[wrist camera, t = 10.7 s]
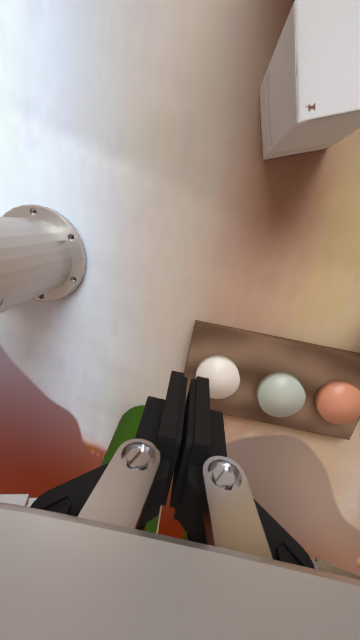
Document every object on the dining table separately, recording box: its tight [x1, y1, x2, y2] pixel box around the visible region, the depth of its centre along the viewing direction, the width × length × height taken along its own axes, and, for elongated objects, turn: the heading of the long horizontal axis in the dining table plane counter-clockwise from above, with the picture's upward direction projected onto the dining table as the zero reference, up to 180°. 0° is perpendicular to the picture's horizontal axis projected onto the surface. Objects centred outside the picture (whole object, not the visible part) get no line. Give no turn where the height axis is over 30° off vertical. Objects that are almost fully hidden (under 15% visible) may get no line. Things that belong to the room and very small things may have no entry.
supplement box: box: [259, 0, 360, 160], centre depth 25 cm, size 7×7×13 cm
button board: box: [184, 320, 360, 440], centre depth 41 cm, size 13×26×2 cm, turn 80°
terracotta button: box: [314, 380, 360, 424], centre depth 38 cm, size 6×6×2 cm
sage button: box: [256, 372, 306, 417], centre depth 37 cm, size 6×6×2 cm
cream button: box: [196, 355, 240, 399], centre depth 39 cm, size 6×6×2 cm
